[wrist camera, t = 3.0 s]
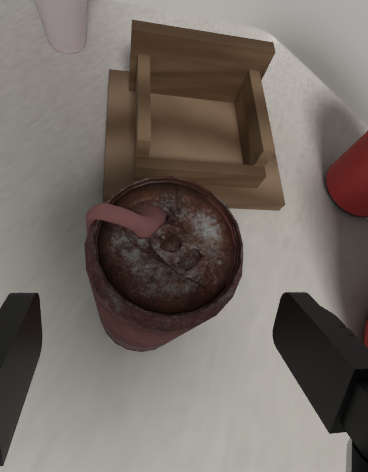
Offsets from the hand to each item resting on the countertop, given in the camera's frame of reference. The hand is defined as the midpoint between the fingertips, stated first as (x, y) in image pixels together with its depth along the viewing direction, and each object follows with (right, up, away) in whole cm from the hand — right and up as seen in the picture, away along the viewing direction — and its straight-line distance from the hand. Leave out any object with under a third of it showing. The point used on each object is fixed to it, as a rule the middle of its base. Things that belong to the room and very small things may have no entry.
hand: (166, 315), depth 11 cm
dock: (+1, +12, +20) cm, 24 cm away
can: (-3, -3, +14) cm, 14 cm away
